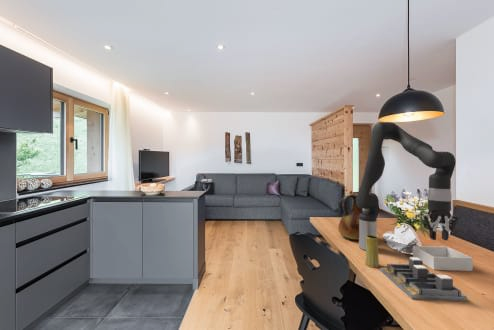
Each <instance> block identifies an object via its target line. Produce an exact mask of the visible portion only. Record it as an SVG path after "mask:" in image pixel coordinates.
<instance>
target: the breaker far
mask: <svg viewBox="0 0 494 330" xmlns="http://www.w3.org/2000/svg"><path fill="white" fill-rule="evenodd" d="M408 264H409V269H413V265H423V263H422V260H421V259H419V258H418V257H413V256H410V257H409V258H408Z"/></svg>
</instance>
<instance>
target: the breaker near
mask: <svg viewBox="0 0 494 330" xmlns="http://www.w3.org/2000/svg"><path fill="white" fill-rule="evenodd" d="M453 283H454V280H453V278H452V277H451V276H450V275H447V274H436V289H451V290H453V286H454V284H453Z"/></svg>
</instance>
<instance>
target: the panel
mask: <svg viewBox="0 0 494 330" xmlns="http://www.w3.org/2000/svg"><path fill="white" fill-rule="evenodd" d="M380 272H381V273H382V274H383V275H385V276H386V277H387V279H389V280H390V281H391V282H392V283H393V284H395V286H397V287H398V289H400V290H401V291H402V292H403V293H405V295H406V296H408V298H410V299H411V300H429V301H430V300H433V301H463V302H468V296H467V295H465V294H464V293H463V292H462V290H461V289H459V288H457V287H456V286H454V285H453V290H451V289H436V275H437V274H435V272H434V273H433V272H430V269H428V275H427V278H413V269H409V263H408V264H407V263H406V264H405V263H404V264H401V263H400V264H399V263H387V264H386V267H380Z"/></svg>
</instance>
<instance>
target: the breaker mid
mask: <svg viewBox="0 0 494 330" xmlns="http://www.w3.org/2000/svg"><path fill="white" fill-rule="evenodd" d="M428 270H429V269H428V268H427V266H424V265H423V264H422V265H413V278H427V275H428Z"/></svg>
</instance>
